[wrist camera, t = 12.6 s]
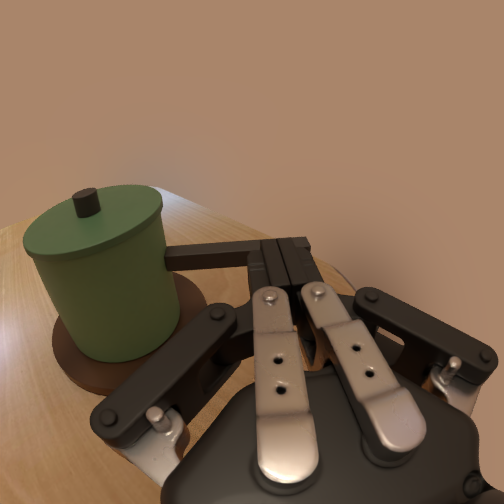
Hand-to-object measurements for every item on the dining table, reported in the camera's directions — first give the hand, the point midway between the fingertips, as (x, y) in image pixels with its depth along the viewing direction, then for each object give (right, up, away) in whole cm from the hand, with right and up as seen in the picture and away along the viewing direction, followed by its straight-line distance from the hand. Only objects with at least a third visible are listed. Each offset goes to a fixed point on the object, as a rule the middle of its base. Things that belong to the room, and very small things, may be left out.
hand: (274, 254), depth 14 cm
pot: (-8, -6, +11) cm, 15 cm away
